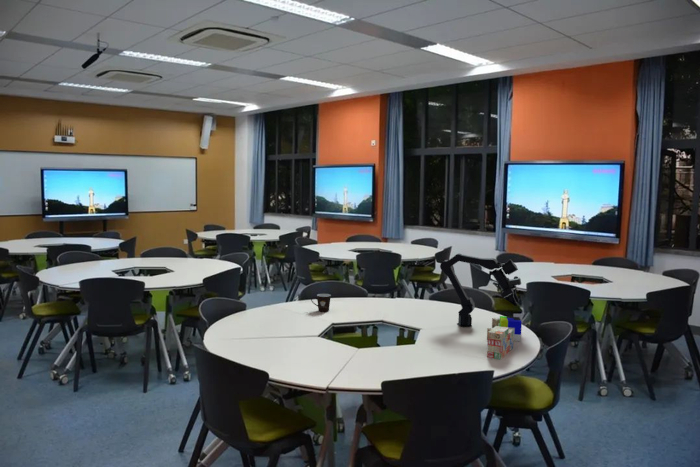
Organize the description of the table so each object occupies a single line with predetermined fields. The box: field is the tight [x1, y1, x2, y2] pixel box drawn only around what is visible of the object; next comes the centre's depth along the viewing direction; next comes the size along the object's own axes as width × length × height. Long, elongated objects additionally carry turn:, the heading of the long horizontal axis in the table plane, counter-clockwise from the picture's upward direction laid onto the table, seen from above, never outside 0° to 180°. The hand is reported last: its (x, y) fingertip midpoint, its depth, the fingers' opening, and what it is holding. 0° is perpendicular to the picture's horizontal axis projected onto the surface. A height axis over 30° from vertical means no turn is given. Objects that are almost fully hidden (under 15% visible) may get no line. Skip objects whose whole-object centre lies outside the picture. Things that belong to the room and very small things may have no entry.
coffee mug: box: [310, 293, 332, 313], centre depth 328 cm, size 12×9×10 cm
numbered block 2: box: [486, 327, 493, 341], centre depth 268 cm, size 5×5×6 cm
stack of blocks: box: [486, 326, 514, 361], centre depth 249 cm, size 21×6×12 cm, turn 148°
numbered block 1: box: [491, 317, 500, 328], centre depth 289 cm, size 5×5×6 cm
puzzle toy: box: [499, 315, 523, 342], centre depth 274 cm, size 10×10×10 cm
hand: (517, 303), depth 285 cm, fingers open, 9 cm apart
